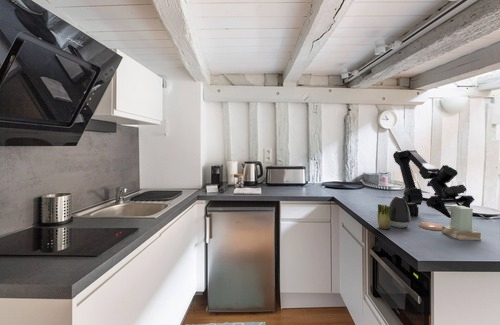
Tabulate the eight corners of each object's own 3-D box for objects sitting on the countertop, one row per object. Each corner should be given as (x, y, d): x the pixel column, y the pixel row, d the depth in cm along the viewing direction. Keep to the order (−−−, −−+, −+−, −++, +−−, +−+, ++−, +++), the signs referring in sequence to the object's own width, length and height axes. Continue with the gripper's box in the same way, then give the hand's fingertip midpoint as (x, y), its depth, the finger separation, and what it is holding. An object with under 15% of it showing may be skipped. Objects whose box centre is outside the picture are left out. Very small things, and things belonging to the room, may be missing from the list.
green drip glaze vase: (375, 226, 117) (376, 203, 117) (385, 226, 117) (386, 203, 116) (381, 230, 112) (382, 206, 111) (392, 230, 111) (392, 206, 111)
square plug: (450, 233, 106) (451, 205, 105) (460, 233, 106) (462, 205, 105) (459, 238, 101) (461, 208, 100) (471, 237, 101) (472, 208, 100)
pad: (417, 227, 115) (418, 226, 115) (419, 222, 122) (419, 220, 122) (444, 232, 108) (444, 230, 108) (444, 226, 116) (444, 224, 116)
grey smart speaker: (406, 223, 121) (407, 194, 120) (413, 230, 111) (414, 199, 110) (384, 222, 124) (385, 194, 123) (389, 228, 114) (389, 198, 113)
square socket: (442, 232, 108) (442, 225, 108) (461, 231, 108) (461, 225, 108) (459, 240, 99) (459, 233, 99) (480, 239, 99) (480, 232, 99)
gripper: (431, 178, 108) (450, 208, 98) (471, 178, 108) (495, 207, 97) (418, 192, 116) (435, 221, 106) (456, 191, 116) (476, 220, 106)
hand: (460, 217), depth 104 cm, fingers open, 9 cm apart
